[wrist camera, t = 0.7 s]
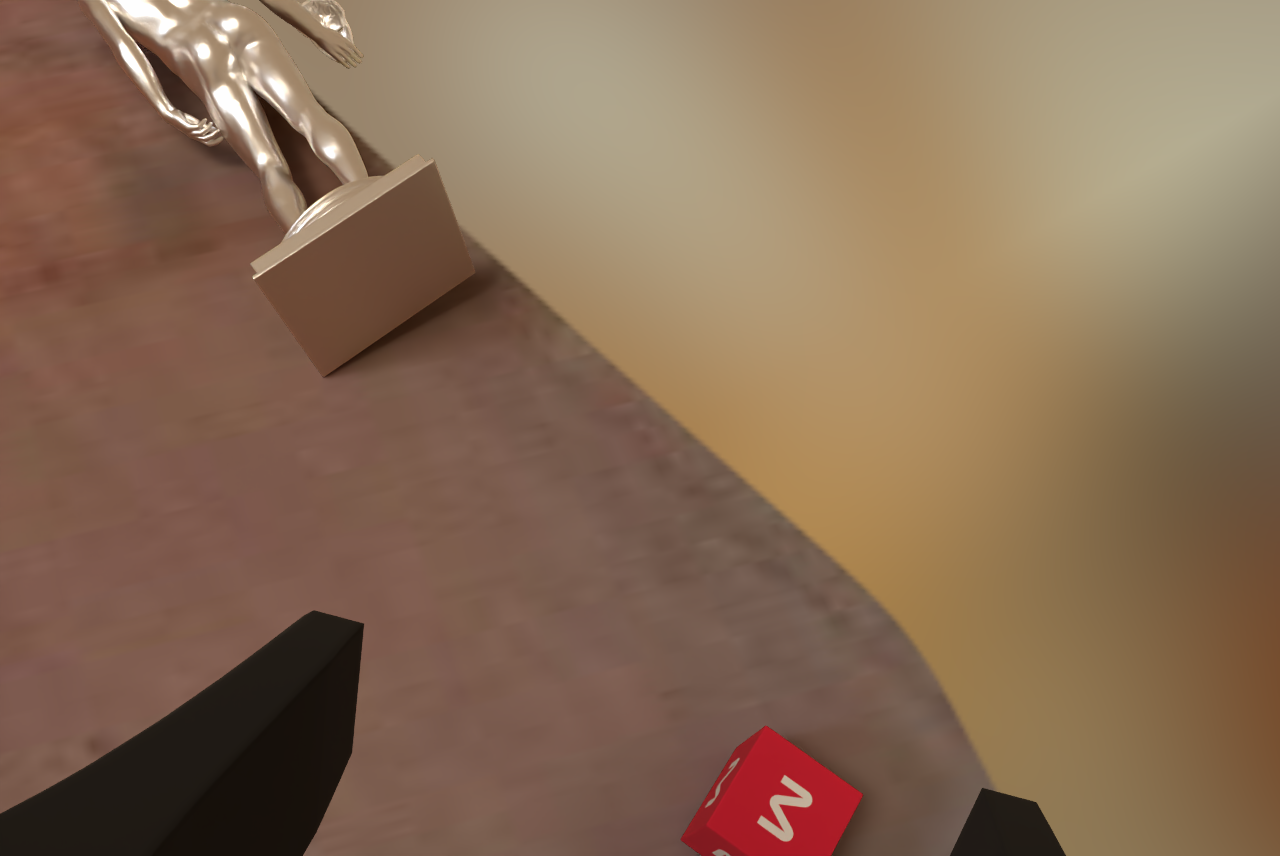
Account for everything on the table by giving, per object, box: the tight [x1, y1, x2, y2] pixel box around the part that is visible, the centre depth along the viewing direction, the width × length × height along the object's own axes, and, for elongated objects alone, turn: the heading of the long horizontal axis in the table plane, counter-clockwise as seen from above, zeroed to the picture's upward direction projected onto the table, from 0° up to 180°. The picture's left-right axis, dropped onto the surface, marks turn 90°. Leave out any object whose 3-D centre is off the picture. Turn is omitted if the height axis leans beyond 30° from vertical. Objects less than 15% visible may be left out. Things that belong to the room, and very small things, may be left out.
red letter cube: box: [681, 726, 863, 856], centre depth 30 cm, size 3×3×3 cm
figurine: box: [77, 0, 475, 377], centre depth 36 cm, size 8×7×18 cm
